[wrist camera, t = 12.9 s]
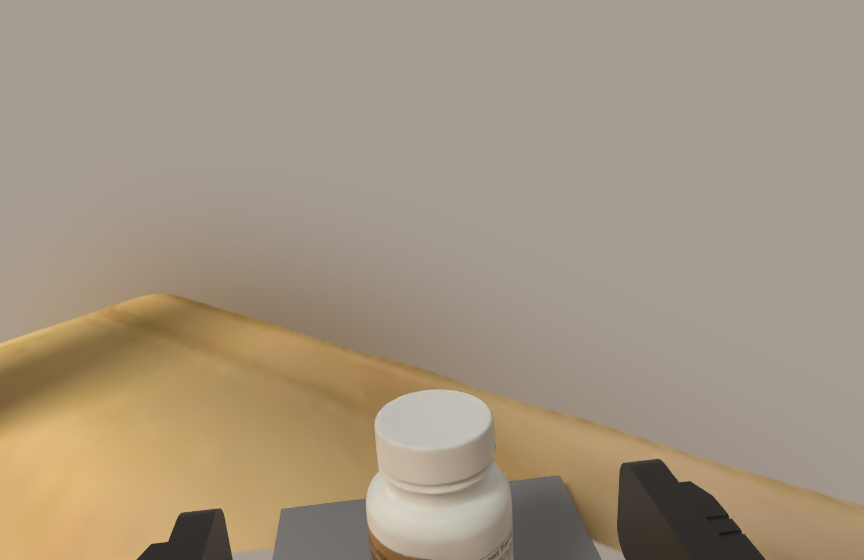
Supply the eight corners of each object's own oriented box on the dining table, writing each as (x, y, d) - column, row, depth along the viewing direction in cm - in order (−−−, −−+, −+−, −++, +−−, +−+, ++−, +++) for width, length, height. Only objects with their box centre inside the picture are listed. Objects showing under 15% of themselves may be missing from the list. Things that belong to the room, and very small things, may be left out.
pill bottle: (358, 608, 22) (335, 405, 20) (470, 558, 24) (460, 368, 21) (416, 714, 18) (395, 479, 16) (543, 646, 20) (541, 427, 18)
